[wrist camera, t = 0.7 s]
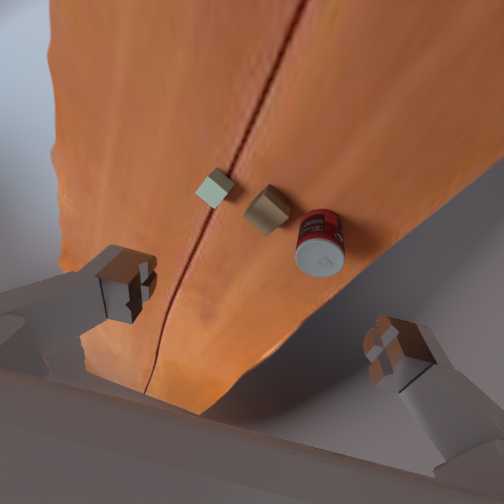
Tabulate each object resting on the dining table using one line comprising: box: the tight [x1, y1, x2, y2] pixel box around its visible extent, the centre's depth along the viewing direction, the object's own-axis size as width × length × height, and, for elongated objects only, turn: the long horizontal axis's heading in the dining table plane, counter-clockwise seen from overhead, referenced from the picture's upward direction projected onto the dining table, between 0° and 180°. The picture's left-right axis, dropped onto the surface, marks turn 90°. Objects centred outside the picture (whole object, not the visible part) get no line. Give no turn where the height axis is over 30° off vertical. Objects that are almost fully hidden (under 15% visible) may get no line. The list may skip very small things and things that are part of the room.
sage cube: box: [196, 168, 234, 209], centre depth 46 cm, size 4×4×4 cm
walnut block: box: [243, 184, 292, 236], centre depth 46 cm, size 6×6×5 cm
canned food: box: [295, 209, 345, 277], centre depth 44 cm, size 8×8×11 cm
